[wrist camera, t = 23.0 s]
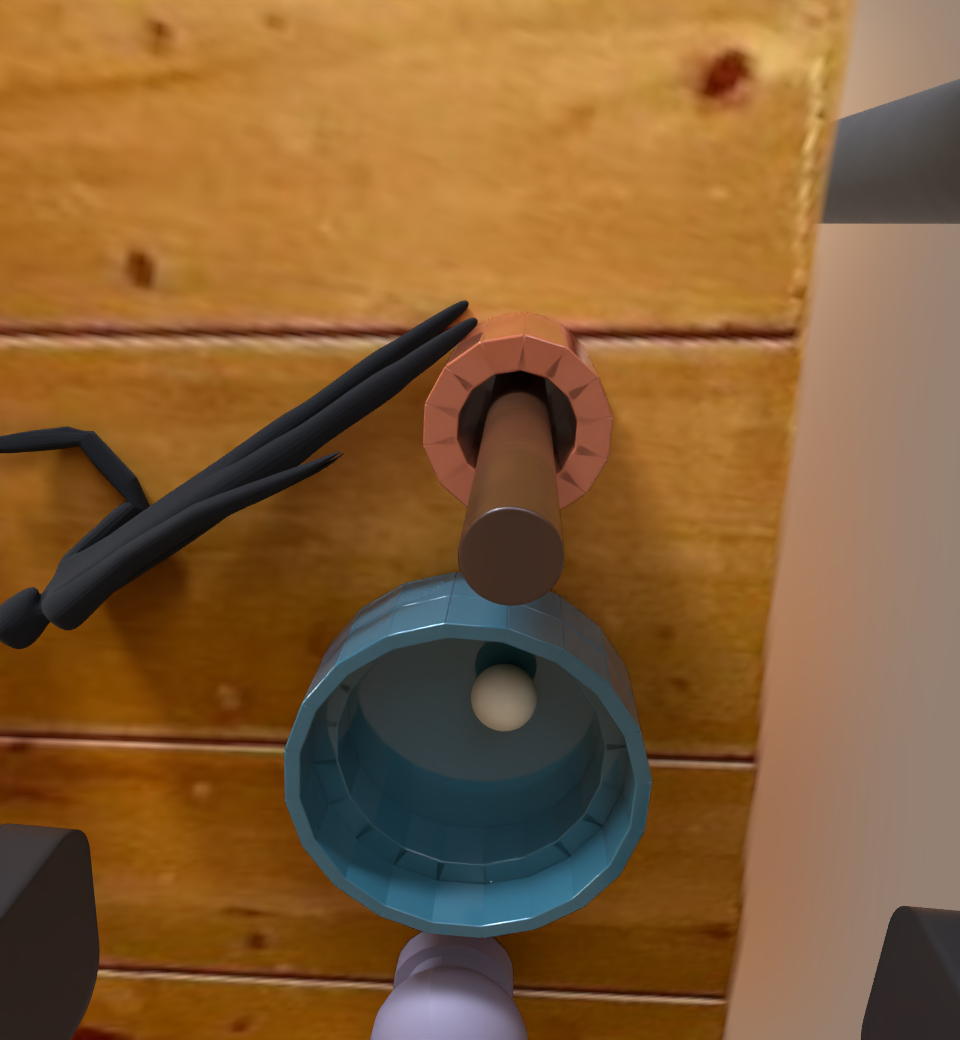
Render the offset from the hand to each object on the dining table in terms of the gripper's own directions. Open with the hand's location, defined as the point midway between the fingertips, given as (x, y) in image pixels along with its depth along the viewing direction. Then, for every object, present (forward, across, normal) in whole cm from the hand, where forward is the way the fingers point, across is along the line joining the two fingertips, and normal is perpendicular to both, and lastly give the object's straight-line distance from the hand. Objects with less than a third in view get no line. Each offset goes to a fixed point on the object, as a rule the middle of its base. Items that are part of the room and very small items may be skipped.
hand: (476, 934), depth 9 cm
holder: (+30, 0, 0) cm, 30 cm away
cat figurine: (+30, +1, +32) cm, 44 cm away
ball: (+28, 0, +14) cm, 31 cm away
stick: (+30, 0, 0) cm, 30 cm away
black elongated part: (+31, +14, +2) cm, 34 cm away
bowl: (+30, +1, +16) cm, 34 cm away
